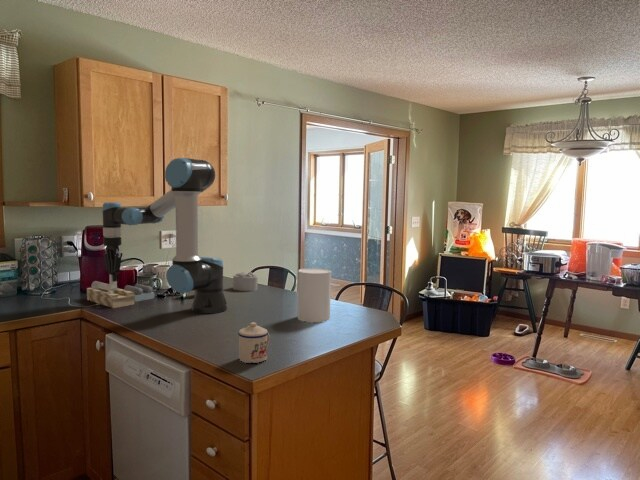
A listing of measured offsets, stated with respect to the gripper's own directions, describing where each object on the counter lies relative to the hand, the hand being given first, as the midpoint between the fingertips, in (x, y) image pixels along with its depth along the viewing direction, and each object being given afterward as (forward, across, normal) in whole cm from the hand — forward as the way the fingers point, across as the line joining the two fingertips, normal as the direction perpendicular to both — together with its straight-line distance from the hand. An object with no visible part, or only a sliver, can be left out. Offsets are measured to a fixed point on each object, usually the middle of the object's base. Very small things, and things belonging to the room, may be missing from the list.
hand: (113, 288), depth 221 cm
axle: (+3, +9, 0) cm, 9 cm away
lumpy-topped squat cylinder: (+7, -19, -64) cm, 67 cm away
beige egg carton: (+7, +3, 0) cm, 7 cm away
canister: (+7, -84, -42) cm, 94 cm away
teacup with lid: (+7, -102, +8) cm, 103 cm away
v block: (+7, +1, -13) cm, 15 cm away
